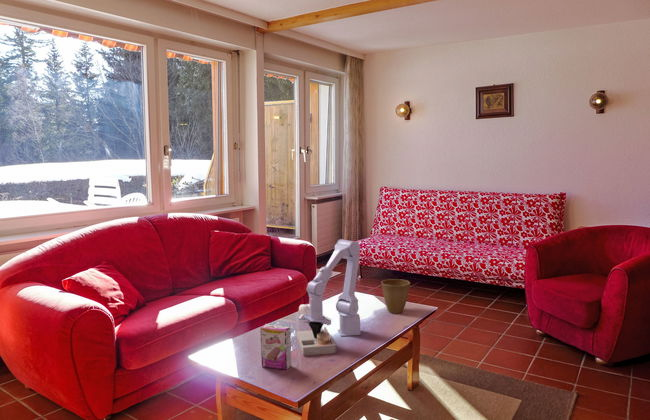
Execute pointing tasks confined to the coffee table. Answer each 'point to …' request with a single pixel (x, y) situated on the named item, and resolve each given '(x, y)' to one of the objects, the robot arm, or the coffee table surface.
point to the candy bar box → (276, 346)
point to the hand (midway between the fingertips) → (316, 337)
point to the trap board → (314, 343)
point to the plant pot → (395, 294)
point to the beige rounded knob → (322, 337)
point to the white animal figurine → (304, 310)
